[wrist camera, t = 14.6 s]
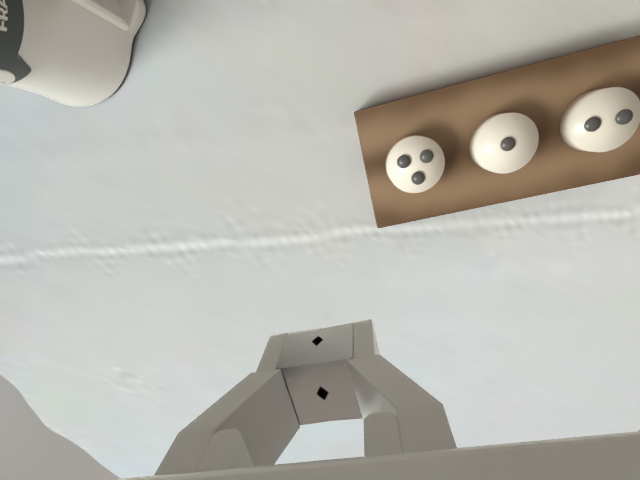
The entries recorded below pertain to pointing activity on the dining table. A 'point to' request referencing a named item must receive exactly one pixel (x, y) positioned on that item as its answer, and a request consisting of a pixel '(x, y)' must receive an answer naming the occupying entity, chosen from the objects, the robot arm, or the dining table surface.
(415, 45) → the dining table surface
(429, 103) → the button board
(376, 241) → the dining table surface
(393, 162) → the button three
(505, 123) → the button one
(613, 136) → the button two
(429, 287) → the dining table surface
